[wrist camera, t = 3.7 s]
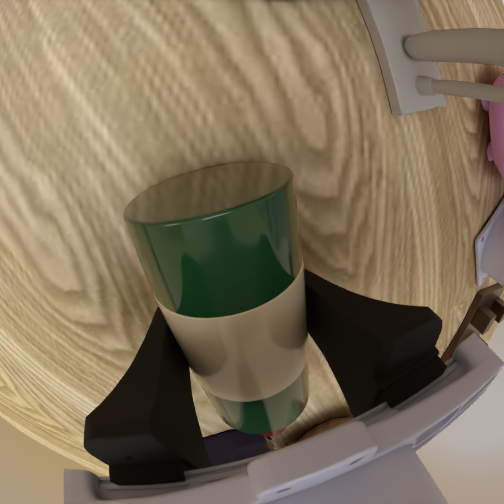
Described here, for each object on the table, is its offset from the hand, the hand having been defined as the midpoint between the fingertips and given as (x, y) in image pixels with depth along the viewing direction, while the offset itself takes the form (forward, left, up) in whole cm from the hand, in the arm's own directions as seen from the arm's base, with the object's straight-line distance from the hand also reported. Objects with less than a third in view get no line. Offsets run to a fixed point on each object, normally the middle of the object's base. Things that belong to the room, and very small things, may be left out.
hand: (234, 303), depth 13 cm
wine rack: (-15, +33, -1) cm, 36 cm away
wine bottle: (+1, +2, -1) cm, 3 cm away
